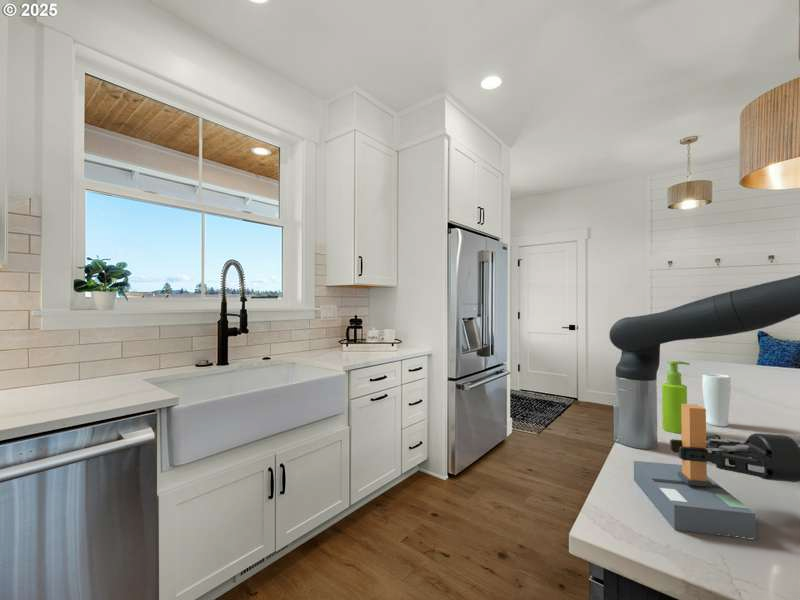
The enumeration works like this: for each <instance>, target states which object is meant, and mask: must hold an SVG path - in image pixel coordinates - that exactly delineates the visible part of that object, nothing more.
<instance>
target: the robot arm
mask: <svg viewBox="0 0 800 600" xmlns="http://www.w3.org/2000/svg"><path fill="white" fill-rule="evenodd" d="M799 315H800V274H798V275H794V276H791V277H787V278H781V279H778V280H773V281H769V282H764V283H760V284H756V285H752V286H748V287H744V288H738V289H734V290H731V291H727V292H723V293H719V294H718V293H717V294H716V295H715V294H714V295H712V296H708V297H704V298H701V299H697V300H695V301H690V302H688V303H685V304H683V305H679V306H676V307H674V308H671V309H667V310H664V311H660V312H656V313H650V314H645V315H644V314H643V315H638V316H636V315H635V316H625V317H623V318H620V319H619V320H617V321H616V322H615V323H614V324H613V325H612V326H611V328H610V329H609V334H608V335H609V340H610V342H611V343H612V345H613V346H614V347H615V348H617V349H618V350H621V354H620V356H621V357H620V359H619V362H618V363H617V364H616V366H615V404H614V405H613V441H614V442H617V443H620V444H622V445H624V446H627V447H632V448H636V449H643V450H644V449H646V450H649V449H650V450H652V449H656V448H657V447H658V385H657V382H658V380H657V378H658V376H657V375H658V370H659V368H660V360H661V358H660V357H661V356H660V354H661V345H662V344H666V343H670V342H675V341H676V342H677V341H685V340H696V339H707V338H718V337H725V336H731V335H736V334H742V333H747V332H753V331H756V330H757V331H758V330H760V329H764V328H768V327H770V326H774V325H776V324H779V323H781V322H784V321H786V320H788V319H791V318H794V317H796V316H799ZM618 436H619V437H618ZM617 439H618V440H617ZM616 440H617V441H616ZM669 449H670V451H671V452H672V453H676V454H678V457H679V458H680V459H681V461H682V460H688V461H700V462H705V461H706V463H707V465H713V466H715V467H716V469H719V470H723V471H727V472H734V473H739V474H743V475H748V476H753V477H754V476H755V477H757V478H760V479H763V480H767V481H774V482H775V481H778V482H789V483H799V484H800V436H798V435H786V434H774V433H773V434H772V433H770V434H769V433H752V434H750V435H749V436H748V437H747V439H746V440H745V441H744V442H741V441H740V440H737V439H731V438H727V439H722V437H721V435H719V434H712V435H711V434H709V435H708V434H706V451H705V449H704V448H697V447H685V446H682V439H675V438H674V439H670V440H669Z"/></svg>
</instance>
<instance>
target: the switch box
mask: <svg viewBox="0 0 800 600" xmlns="http://www.w3.org/2000/svg"><path fill="white" fill-rule="evenodd" d="M678 472H682V464H675V463H664V462H652V461H640V460H633V481H634V482H635V484H636V485H637V486H638V487H639V488H640V489H641V491H642V492H643V493H644V494H645V495H646V497H647V498H648V499H649V501H650V502H651V503H652V504H653V505H654V507H655V508H656V509H657V510H658V511H659V513H660V514H661V515H662V517H663V518H664V519H665V520H666V521H667V522H668V523H669V525H670V526H671V528H672V529H673V528H674V529H673V530H674V531H680V530H682V531H681V532H688V531H690V532H689V533H697V532H698V534H705V533H708V534H707V535H713V534H718V535H717V536H721V535H727V536H726V537H729V536H738V537H745V538H744V539H746V538H754V539H756V536H757V535H756V512H754V511H753V510H751V509H750V508H749V507H748V506H746V505H745V504H744V503H742V502H741V501H740V500H739V499H738V498H736V497H735V496H733V495H732V494H731V493H729V491H727V490H726V489H725V488H723V487H722V486H721V485H720V484H718V483H717V482H716V481H715V480H713V479H712V478H711V477H709V475H707V479H708V480H709V481H710V482H711V487H705V486H695V485H687V484H686V483H685V482H684V481H683V480H682V479H681V478H680V477H679V476H678ZM675 529H676V530H675ZM699 532H700V533H699ZM719 534H720V535H719ZM728 535H729V536H728ZM754 539H753V540H754ZM756 540H757V539H756Z"/></svg>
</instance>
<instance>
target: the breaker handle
mask: <svg viewBox="0 0 800 600" xmlns="http://www.w3.org/2000/svg"><path fill="white" fill-rule="evenodd" d="M681 416H682V434H681V440H682V446H685V447H697V448H704V449H705V451H706V435H707V423H706V409H705V407H703V406H701V405H698V404H693V403H692V404H691V403H687V404H681ZM681 465H682V472H678V476H679V477H680V478H681V479H682V480H683V481H684V482H685V483H686V484H687V485H695V486H705V487H711V482H710V481H709V480H708V479H707V476H708V474H707V473H708V472H707V471H708V470H707V468H708V467H707V465H708V464H707V463H706V461H705V462H700V461H688V460H682V459H681Z"/></svg>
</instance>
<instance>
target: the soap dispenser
mask: <svg viewBox="0 0 800 600" xmlns="http://www.w3.org/2000/svg"><path fill="white" fill-rule="evenodd" d="M666 363H667V365H670V366H669V367H670V371H668V372H666V382H664V383H661V399H662V400H661V409H662V413H661V418H662V419H661V421H662V422H661V423H662V428H661V429H662V430H663V431H666V432H668V433H669V432H670V433H674V434H681V435H682V416H681V404H688V388H687V387H688V386H687V385H685V384H682V373H681V372H680V371H678V369H679V368H678V367H679V366H678V365H687V366H689V365H690V363H689V362H684V361H681V360H670V361H667V362H666Z"/></svg>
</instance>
